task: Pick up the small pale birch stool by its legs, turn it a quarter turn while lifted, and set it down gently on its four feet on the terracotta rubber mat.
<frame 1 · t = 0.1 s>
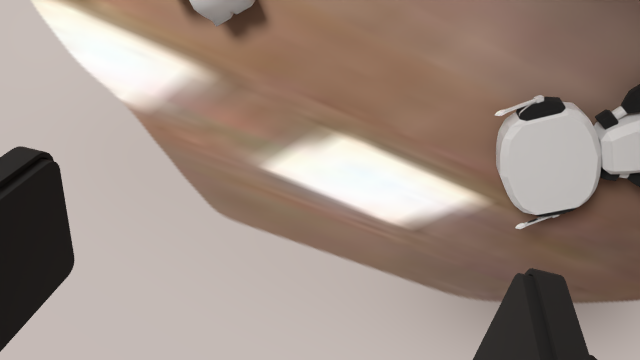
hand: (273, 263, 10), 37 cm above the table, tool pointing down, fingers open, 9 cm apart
robot toy: (579, 137, 46), on the table
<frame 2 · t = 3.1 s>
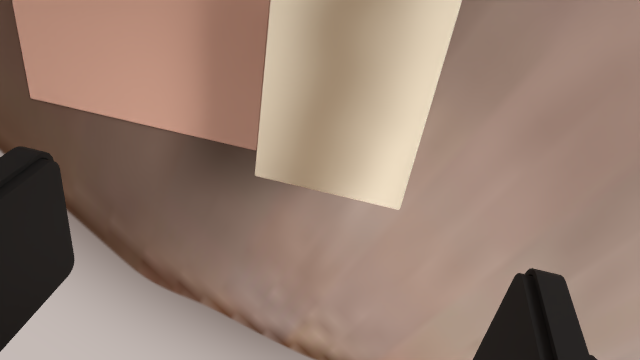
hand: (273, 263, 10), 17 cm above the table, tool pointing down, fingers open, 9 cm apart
birch stool: (370, 28, 24), on the table
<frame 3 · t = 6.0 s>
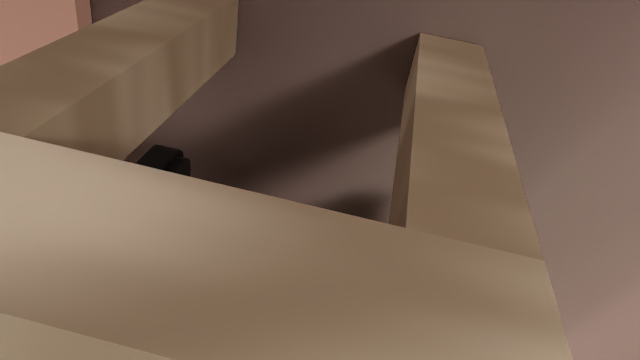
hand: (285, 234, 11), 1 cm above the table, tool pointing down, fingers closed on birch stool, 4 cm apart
birch stool: (299, 200, 12), on the table, touching gripper
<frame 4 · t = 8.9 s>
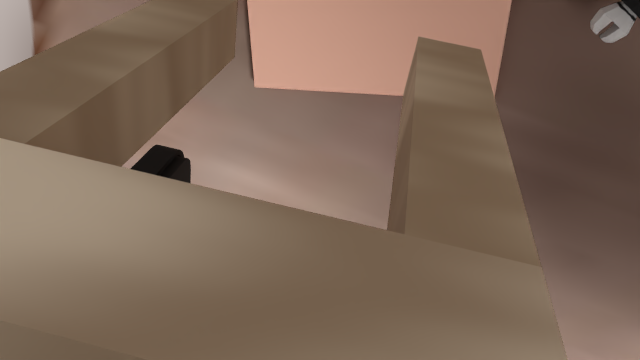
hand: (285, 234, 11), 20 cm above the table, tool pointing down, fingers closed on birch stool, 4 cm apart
birch stool: (297, 202, 12), point 18 cm above the table, touching gripper
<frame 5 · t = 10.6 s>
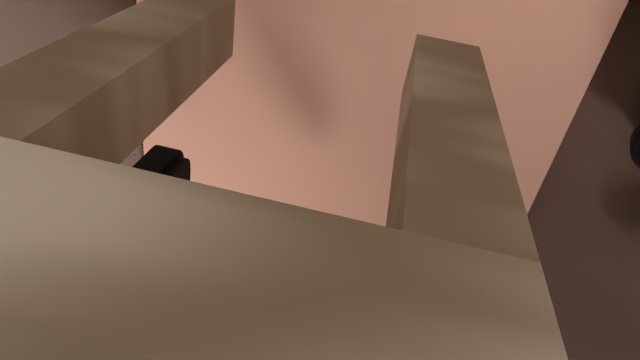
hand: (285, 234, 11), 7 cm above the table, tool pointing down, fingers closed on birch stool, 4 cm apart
terracotta mat: (340, 110, 17), on the table
birch stool: (296, 201, 12), point 6 cm above the table, touching gripper
when the fingers open (4 cm above the table, at t = 11.7 s): birch stool drops 2 cm, resting on terracotta mat.
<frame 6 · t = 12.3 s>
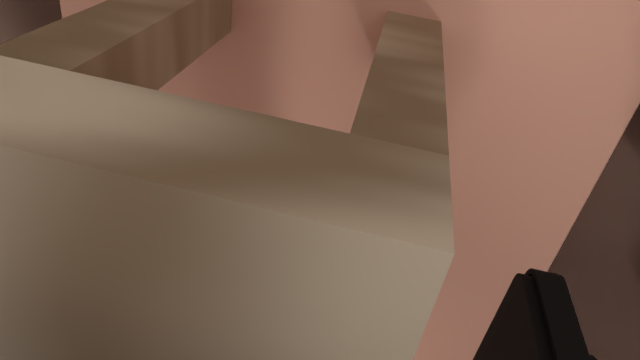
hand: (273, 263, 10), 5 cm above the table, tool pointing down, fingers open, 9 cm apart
terracotta mat: (317, 155, 14), on the table
birch stool: (287, 162, 14), resting on terracotta mat
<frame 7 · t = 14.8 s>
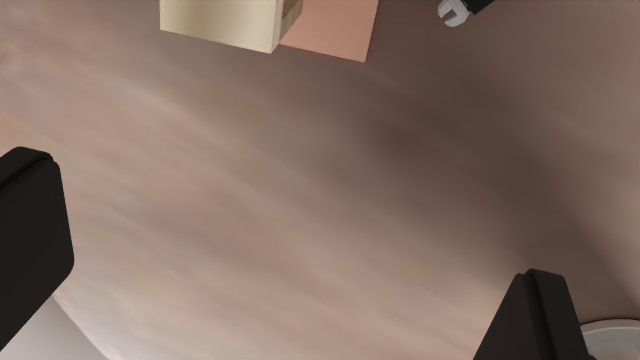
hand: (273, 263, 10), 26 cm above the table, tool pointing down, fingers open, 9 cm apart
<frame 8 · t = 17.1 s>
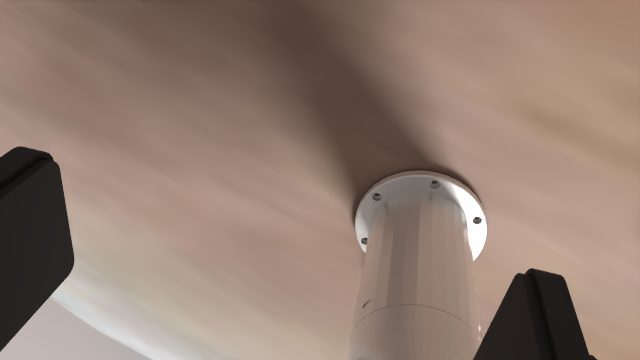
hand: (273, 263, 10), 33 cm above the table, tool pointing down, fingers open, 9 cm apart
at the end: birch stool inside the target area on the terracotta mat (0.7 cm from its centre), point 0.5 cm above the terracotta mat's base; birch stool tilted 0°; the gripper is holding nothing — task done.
